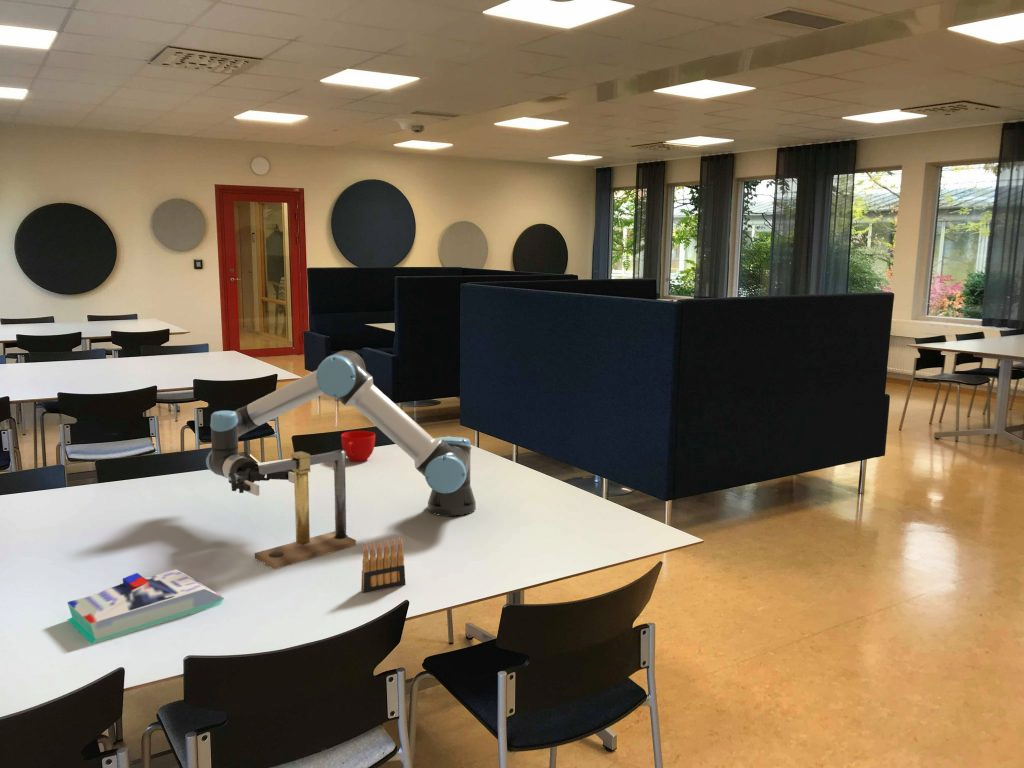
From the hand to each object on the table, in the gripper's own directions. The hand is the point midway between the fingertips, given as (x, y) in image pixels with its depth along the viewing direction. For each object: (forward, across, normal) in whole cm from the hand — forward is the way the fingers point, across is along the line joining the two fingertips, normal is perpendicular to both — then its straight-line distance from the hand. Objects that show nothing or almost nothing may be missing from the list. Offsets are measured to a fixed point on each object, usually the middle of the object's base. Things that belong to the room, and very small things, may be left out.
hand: (280, 485), depth 224 cm
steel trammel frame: (+10, -1, -15) cm, 18 cm away
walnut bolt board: (+10, -1, -16) cm, 19 cm away
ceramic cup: (-59, -68, -17) cm, 92 cm away
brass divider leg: (+10, 0, -14) cm, 18 cm away
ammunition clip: (+44, -2, -16) cm, 47 cm away
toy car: (+17, +44, -18) cm, 51 cm away
